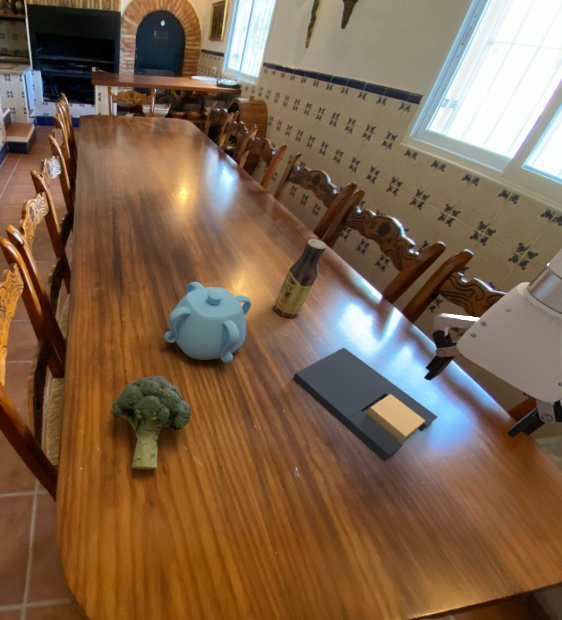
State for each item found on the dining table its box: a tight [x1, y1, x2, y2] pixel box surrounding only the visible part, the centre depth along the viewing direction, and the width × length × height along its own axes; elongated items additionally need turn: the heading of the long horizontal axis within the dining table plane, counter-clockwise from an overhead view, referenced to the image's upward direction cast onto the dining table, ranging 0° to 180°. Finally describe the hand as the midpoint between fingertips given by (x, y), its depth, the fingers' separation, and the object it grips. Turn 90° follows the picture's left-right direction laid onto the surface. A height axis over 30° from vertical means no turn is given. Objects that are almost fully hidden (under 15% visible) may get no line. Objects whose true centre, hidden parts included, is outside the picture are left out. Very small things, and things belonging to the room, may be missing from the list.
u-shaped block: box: [292, 347, 438, 462], centre depth 70 cm, size 20×16×2 cm
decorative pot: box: [163, 281, 252, 364], centre depth 76 cm, size 16×16×14 cm
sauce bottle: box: [273, 238, 327, 318], centre depth 84 cm, size 7×6×20 cm
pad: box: [365, 394, 425, 444], centre depth 66 cm, size 7×7×3 cm
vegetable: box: [110, 374, 192, 470], centre depth 58 cm, size 12×13×15 cm
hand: (469, 401), depth 46 cm, fingers open, 9 cm apart
